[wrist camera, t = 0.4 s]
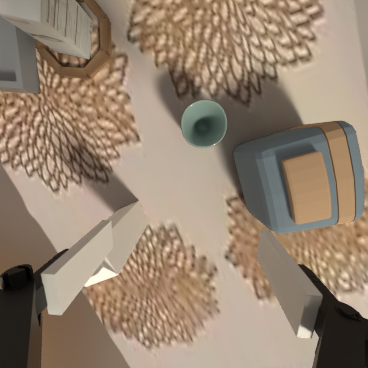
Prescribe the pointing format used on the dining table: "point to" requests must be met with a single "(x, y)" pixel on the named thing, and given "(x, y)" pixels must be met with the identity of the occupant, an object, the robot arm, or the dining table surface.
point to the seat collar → (97, 60)
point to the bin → (17, 60)
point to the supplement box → (52, 24)
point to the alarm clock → (303, 177)
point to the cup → (204, 123)
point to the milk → (121, 240)
